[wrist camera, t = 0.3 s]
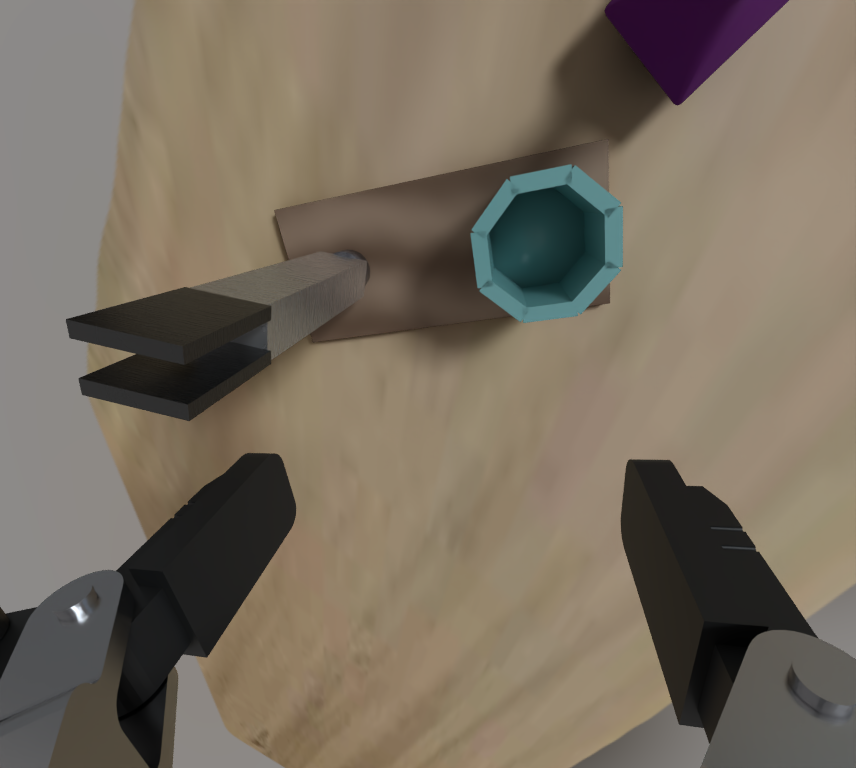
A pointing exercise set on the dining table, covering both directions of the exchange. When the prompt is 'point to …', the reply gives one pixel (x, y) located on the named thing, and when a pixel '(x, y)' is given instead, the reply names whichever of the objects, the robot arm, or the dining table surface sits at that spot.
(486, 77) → the dining table surface
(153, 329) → the grey long forked bar
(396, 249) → the walnut board
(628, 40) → the perfume bottle
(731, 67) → the dining table surface
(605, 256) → the crock
